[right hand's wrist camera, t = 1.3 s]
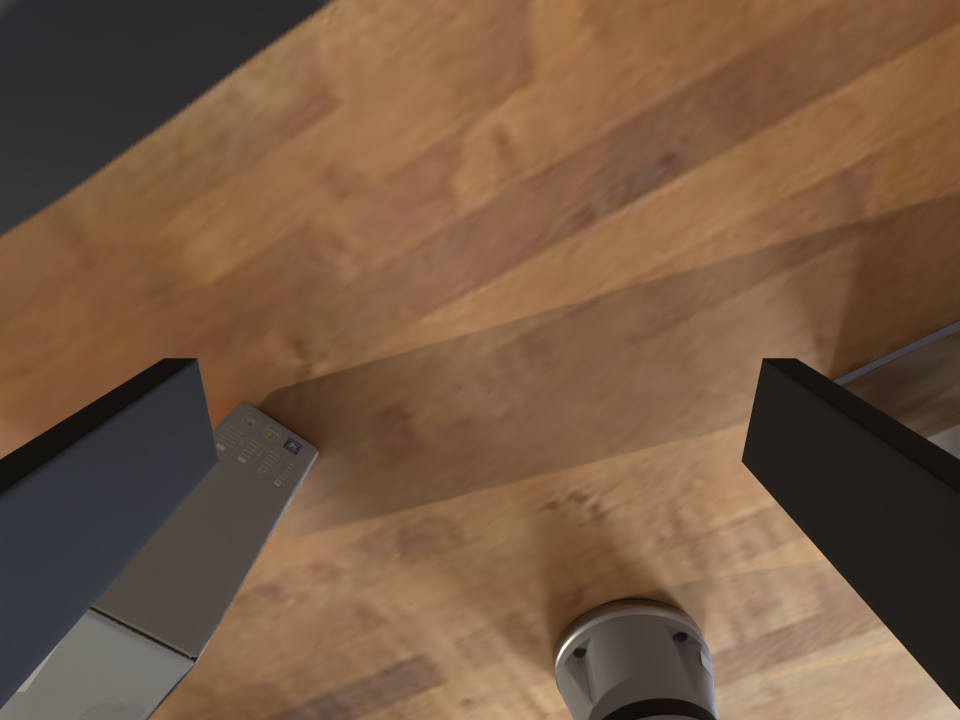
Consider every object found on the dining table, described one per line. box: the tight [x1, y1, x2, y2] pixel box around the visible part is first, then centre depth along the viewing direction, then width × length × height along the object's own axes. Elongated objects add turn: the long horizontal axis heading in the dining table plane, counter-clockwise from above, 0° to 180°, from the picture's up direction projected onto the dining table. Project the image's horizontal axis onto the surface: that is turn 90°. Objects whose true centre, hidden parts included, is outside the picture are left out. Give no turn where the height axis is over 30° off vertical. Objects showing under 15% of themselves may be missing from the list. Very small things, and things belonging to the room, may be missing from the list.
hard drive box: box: [0, 401, 319, 720], centre depth 36 cm, size 16×8×20 cm, turn 141°
